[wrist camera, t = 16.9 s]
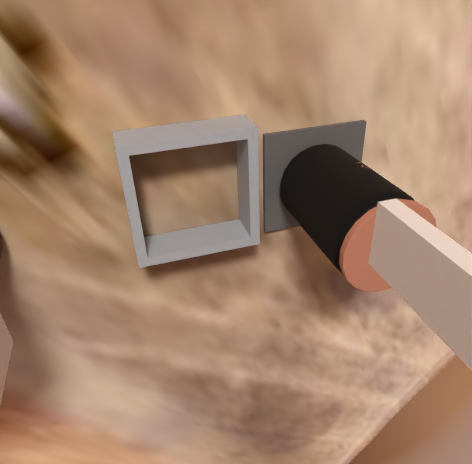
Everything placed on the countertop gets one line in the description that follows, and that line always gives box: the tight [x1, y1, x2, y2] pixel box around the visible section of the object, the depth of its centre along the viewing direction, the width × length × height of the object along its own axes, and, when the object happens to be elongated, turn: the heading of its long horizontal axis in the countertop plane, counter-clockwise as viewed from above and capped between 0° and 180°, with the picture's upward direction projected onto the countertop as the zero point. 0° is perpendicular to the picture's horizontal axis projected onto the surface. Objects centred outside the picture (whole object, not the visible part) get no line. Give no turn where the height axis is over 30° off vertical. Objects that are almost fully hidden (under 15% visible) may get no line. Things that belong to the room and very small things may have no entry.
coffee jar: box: [280, 144, 436, 292], centre depth 50 cm, size 11×11×18 cm
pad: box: [263, 120, 366, 232], centre depth 58 cm, size 14×14×1 cm
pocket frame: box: [113, 115, 260, 268], centre depth 51 cm, size 15×15×5 cm
